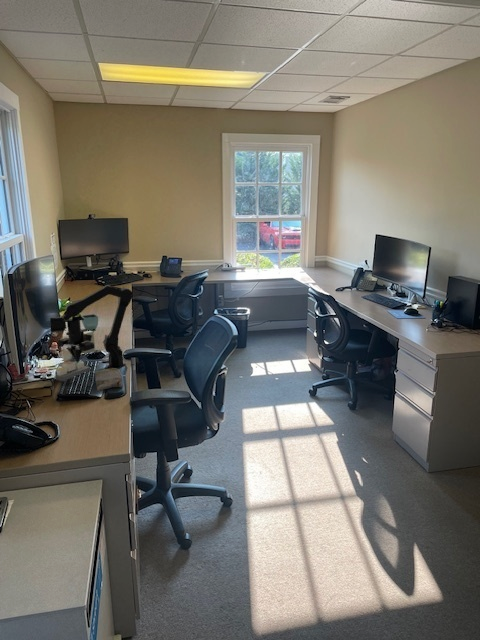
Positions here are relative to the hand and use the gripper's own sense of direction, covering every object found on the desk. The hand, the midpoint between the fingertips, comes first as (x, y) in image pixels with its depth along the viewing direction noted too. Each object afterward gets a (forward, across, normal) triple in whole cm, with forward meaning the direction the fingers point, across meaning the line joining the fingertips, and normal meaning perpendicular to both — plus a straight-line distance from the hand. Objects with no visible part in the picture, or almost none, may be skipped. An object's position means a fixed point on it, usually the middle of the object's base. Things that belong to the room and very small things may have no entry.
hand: (77, 361), depth 219 cm
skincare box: (+5, +17, -22) cm, 28 cm away
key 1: (+4, 0, 0) cm, 4 cm away
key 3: (+4, 0, +10) cm, 11 cm away
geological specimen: (+5, -25, +6) cm, 27 cm away
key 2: (+2, 0, +5) cm, 6 cm away
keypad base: (+5, 0, +5) cm, 7 cm away
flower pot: (+5, +57, -61) cm, 84 cm away
